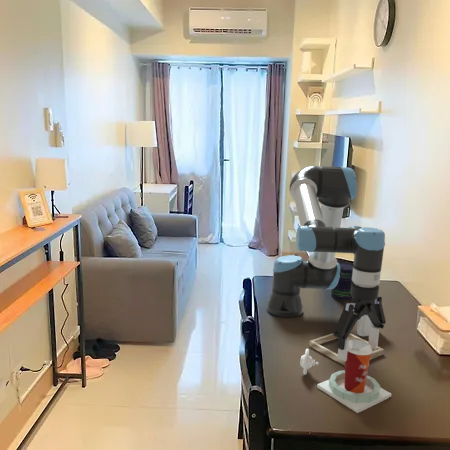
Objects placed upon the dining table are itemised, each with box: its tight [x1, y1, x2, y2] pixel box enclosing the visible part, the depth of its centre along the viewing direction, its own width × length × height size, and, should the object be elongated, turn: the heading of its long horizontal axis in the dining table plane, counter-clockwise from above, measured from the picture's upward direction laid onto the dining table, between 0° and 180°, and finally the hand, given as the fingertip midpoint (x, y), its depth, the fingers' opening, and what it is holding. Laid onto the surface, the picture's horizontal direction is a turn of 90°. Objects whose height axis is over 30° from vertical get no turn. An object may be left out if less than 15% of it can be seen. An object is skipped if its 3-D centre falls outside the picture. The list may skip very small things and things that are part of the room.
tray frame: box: [308, 332, 385, 367], centre depth 161 cm, size 18×18×2 cm
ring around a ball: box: [299, 348, 320, 376], centre depth 144 cm, size 8×6×8 cm
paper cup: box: [344, 340, 373, 393], centre depth 134 cm, size 8×8×14 cm
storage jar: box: [330, 262, 353, 302], centre depth 213 cm, size 10×10×15 cm
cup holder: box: [316, 369, 392, 414], centre depth 135 cm, size 15×15×3 cm
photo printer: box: [356, 315, 381, 337], centre depth 175 cm, size 10×4×12 cm, turn 123°
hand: (357, 353), depth 133 cm, fingers open, 13 cm apart
